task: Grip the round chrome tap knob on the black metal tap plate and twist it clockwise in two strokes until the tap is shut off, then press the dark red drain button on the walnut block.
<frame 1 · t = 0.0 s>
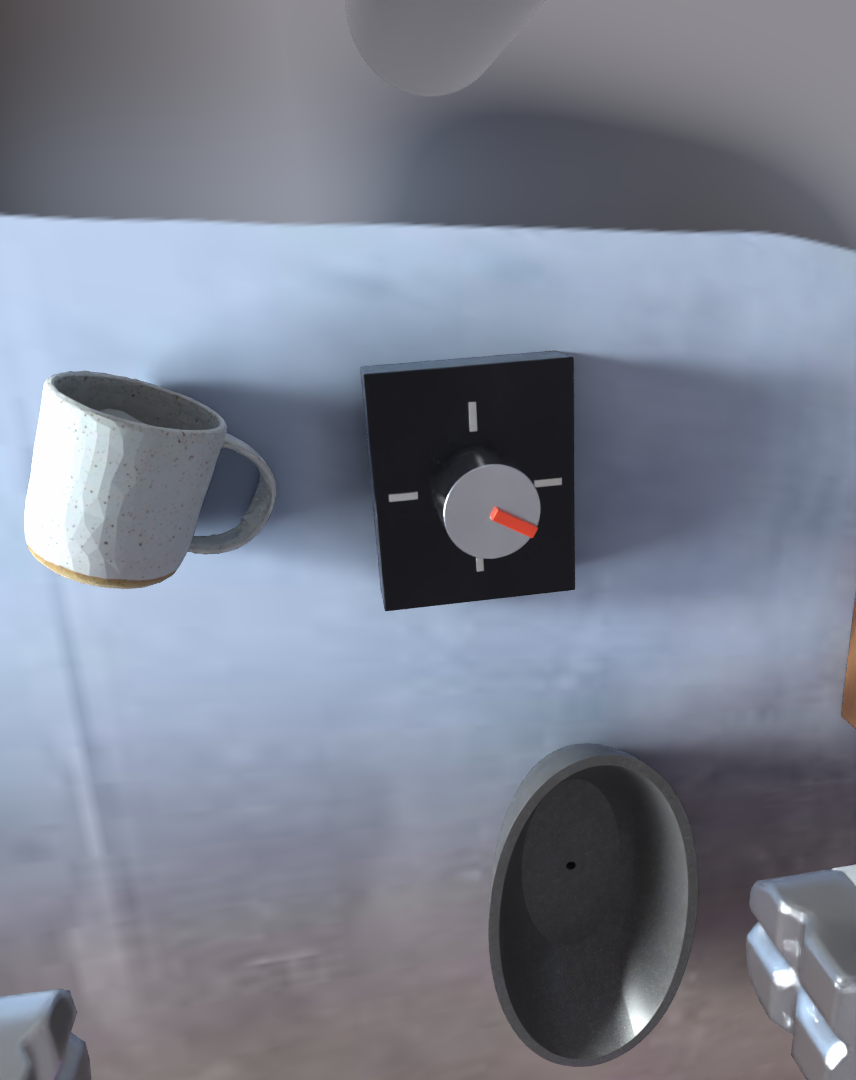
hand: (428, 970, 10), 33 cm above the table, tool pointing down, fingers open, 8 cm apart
tap handle: (484, 501, 38), point 5 cm above the table, hinge at 60.0°
tap plate: (465, 474, 42), on the table
bowl: (562, 846, 51), on the table
ceramic mug: (168, 463, 40), on the table
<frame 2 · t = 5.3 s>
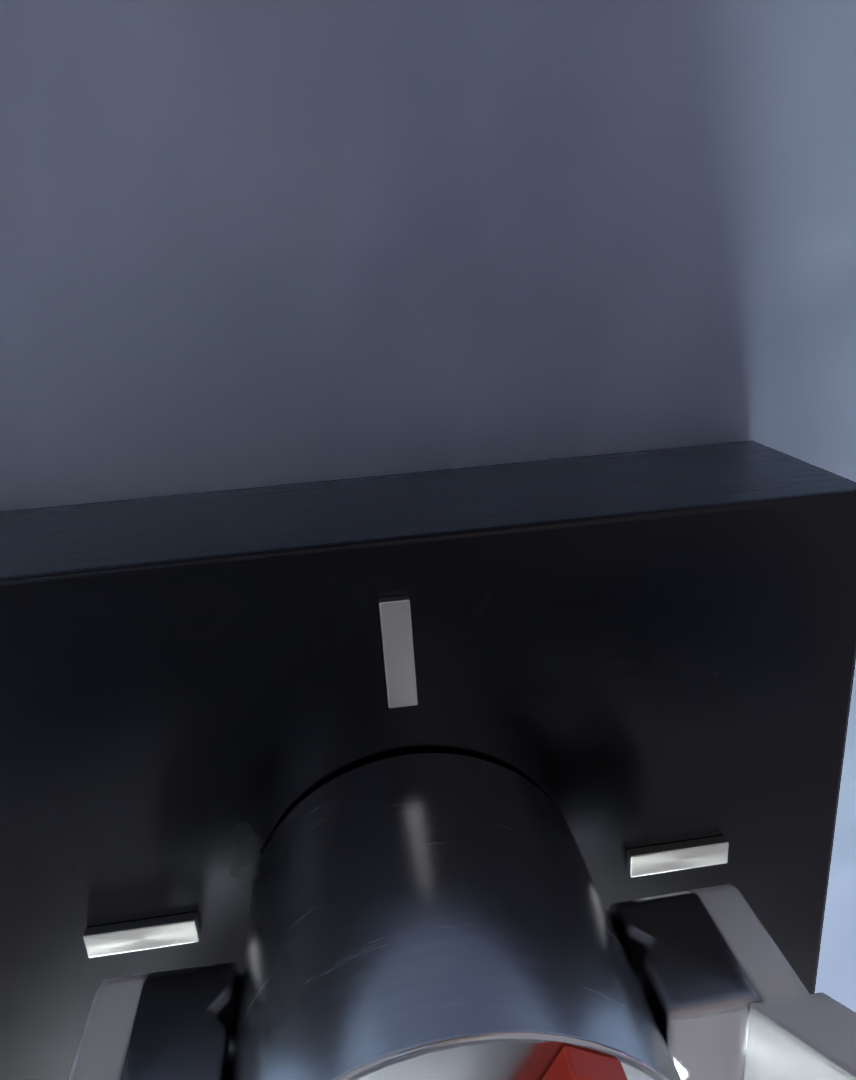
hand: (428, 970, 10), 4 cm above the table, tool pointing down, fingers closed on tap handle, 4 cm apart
tap handle: (441, 1036, 9), point 5 cm above the table, hinge at 59.9°, touching gripper
tap plate: (397, 761, 14), on the table
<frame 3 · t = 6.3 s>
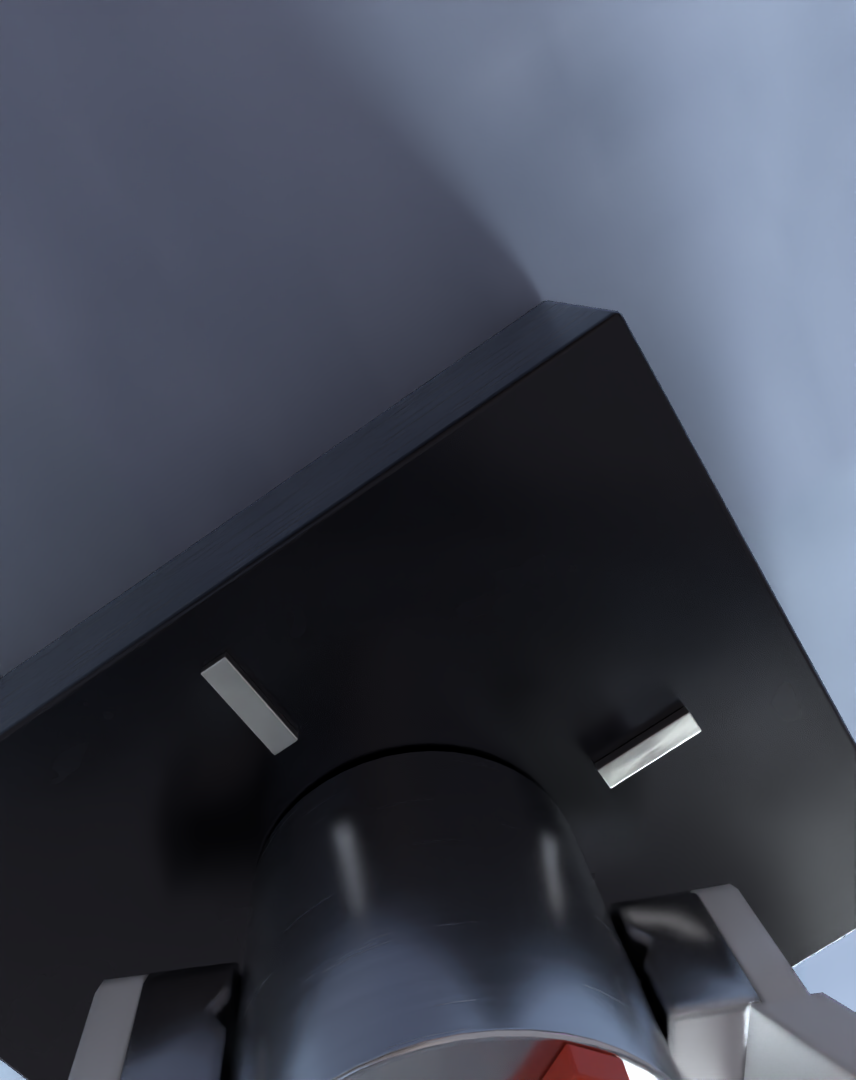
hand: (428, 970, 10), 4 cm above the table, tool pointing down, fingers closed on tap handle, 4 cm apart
tap handle: (441, 1035, 9), point 5 cm above the table, hinge at 29.6°, touching gripper
tap plate: (397, 759, 14), on the table
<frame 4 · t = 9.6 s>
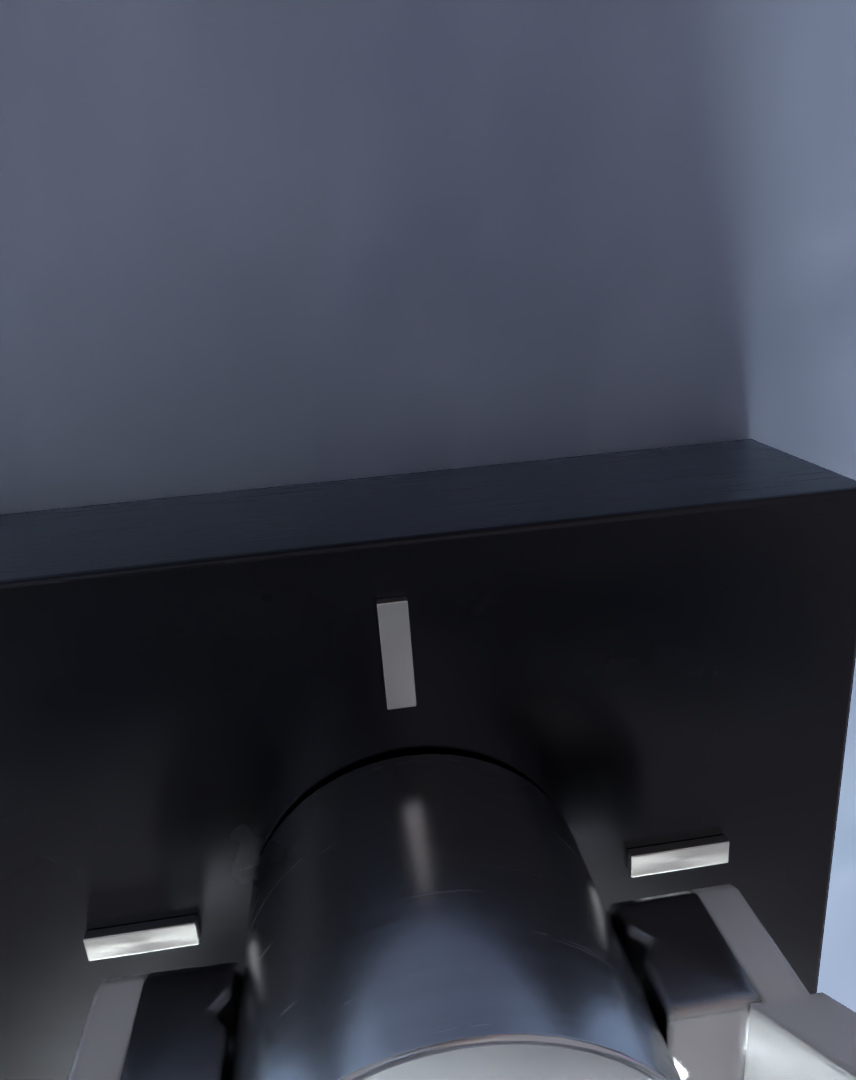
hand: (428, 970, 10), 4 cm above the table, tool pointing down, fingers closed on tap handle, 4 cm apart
tap handle: (442, 1038, 9), point 5 cm above the table, hinge at -0.1°, touching gripper
tap plate: (398, 761, 14), on the table
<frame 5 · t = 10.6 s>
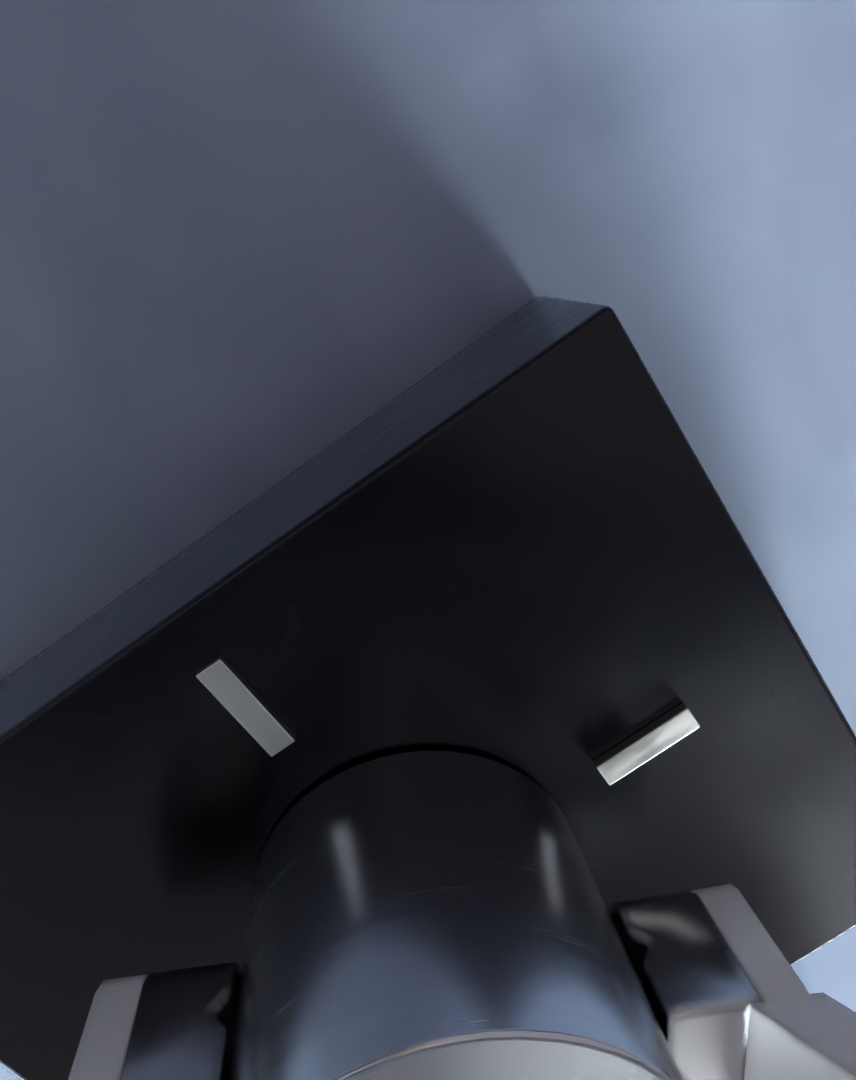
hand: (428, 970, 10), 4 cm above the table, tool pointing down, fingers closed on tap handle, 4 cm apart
tap handle: (441, 1035, 9), point 5 cm above the table, hinge at -29.6°, touching gripper
tap plate: (397, 759, 14), on the table
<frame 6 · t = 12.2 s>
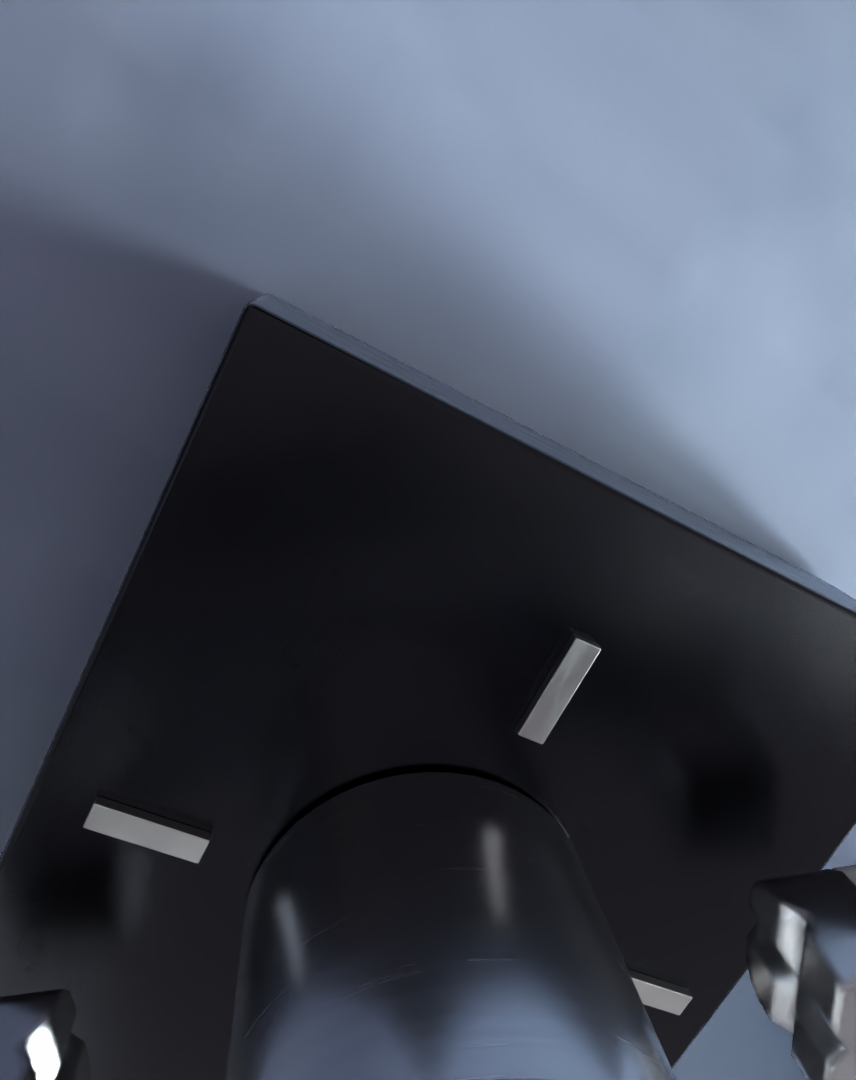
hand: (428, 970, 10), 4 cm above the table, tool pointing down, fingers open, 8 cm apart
tap handle: (442, 1071, 8), point 5 cm above the table, hinge at -5.9°
tap plate: (396, 775, 13), on the table
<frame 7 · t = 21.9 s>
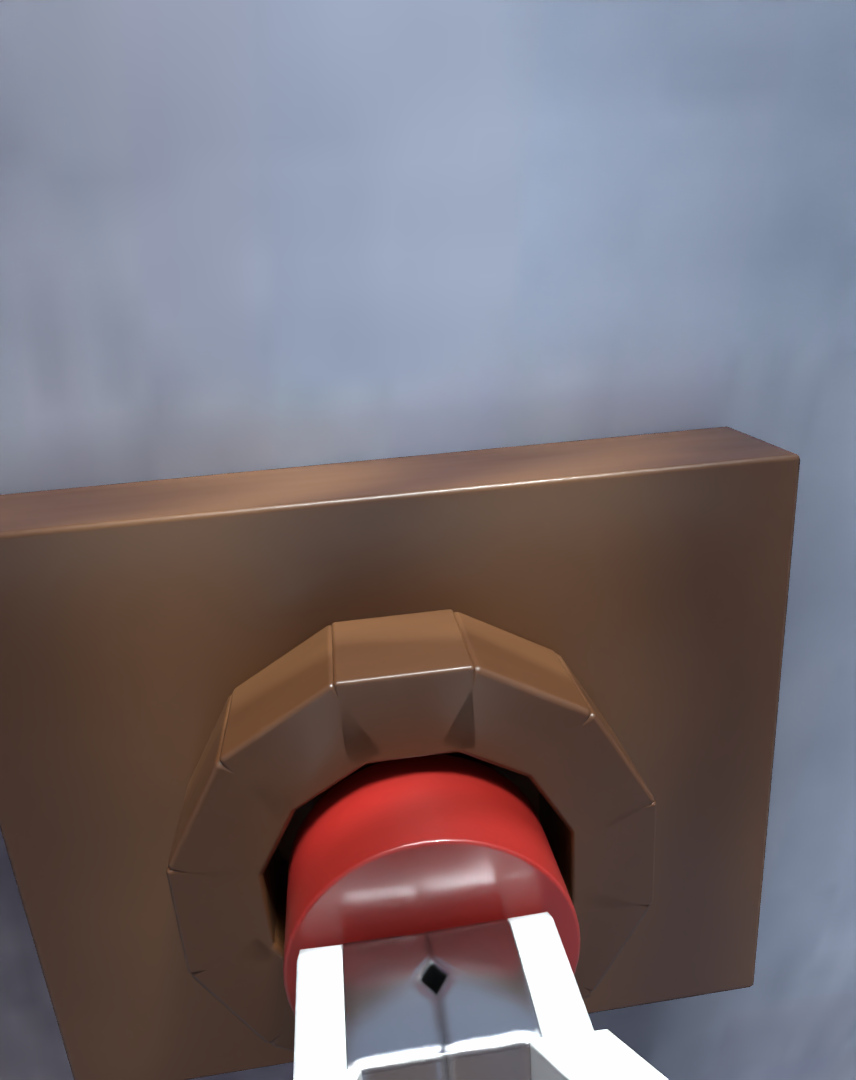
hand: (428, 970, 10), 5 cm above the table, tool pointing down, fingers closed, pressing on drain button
drain button: (426, 910, 10), point 4 cm above the table, slide at 0.0 cm, touching gripper
drain block: (396, 728, 15), on the table
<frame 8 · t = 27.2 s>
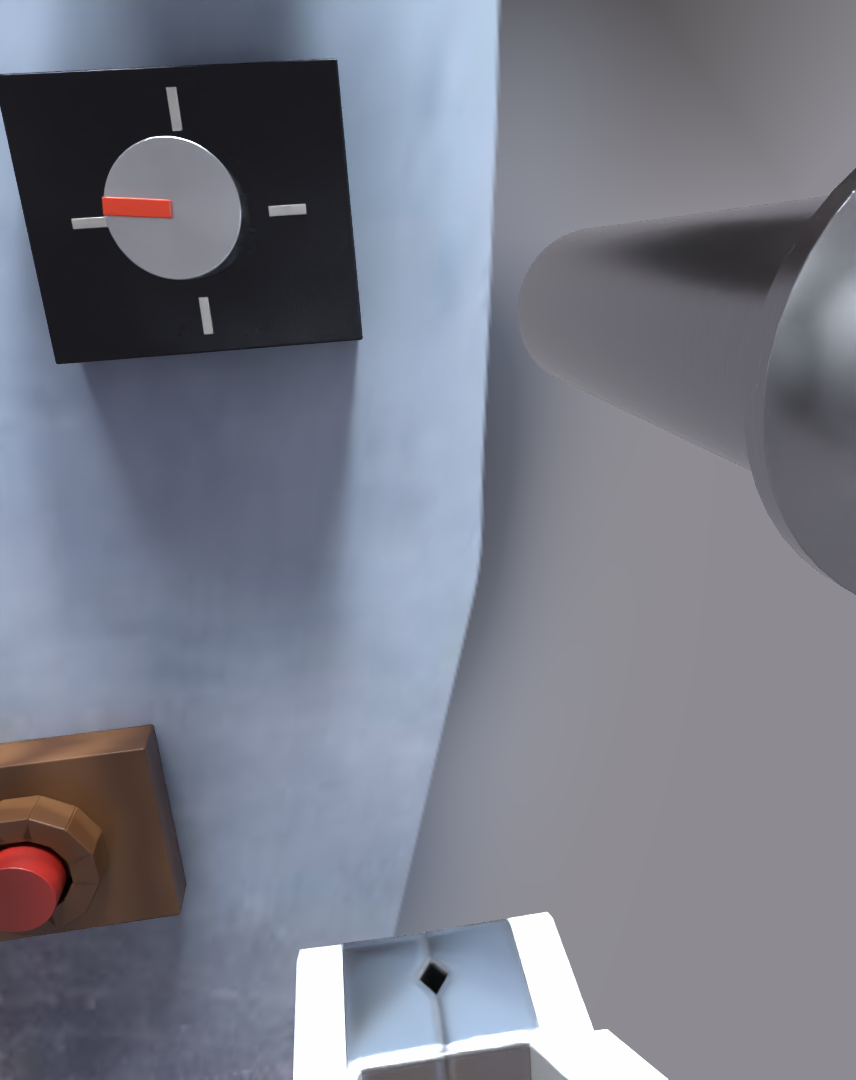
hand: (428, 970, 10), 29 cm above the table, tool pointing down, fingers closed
drain button: (20, 886, 37), point 4 cm above the table, slide at 0.1 cm
tap handle: (182, 213, 28), point 5 cm above the table, hinge at -5.9°
drain block: (51, 823, 41), on the table
tap plate: (202, 220, 33), on the table
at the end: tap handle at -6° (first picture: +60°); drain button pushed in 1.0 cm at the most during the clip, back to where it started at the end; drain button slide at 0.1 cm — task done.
